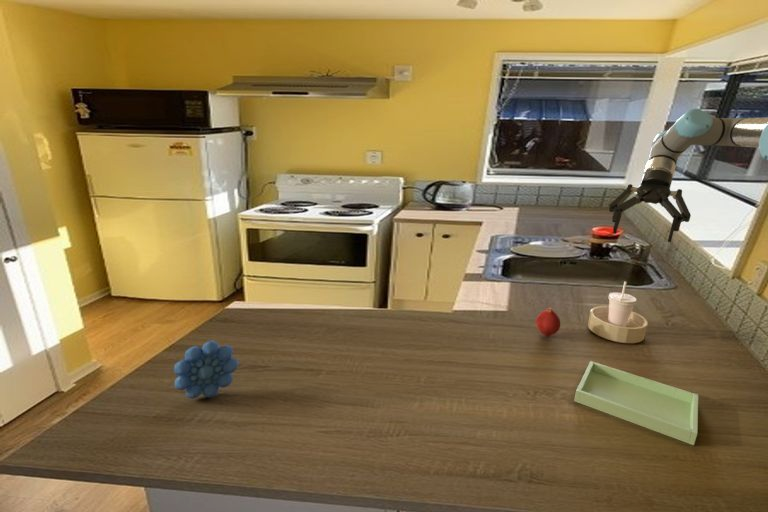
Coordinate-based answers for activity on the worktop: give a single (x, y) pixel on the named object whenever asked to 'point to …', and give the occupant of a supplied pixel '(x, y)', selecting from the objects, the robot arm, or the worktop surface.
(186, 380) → the blue flower
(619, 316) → the smoothie
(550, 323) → the onion
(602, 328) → the bowl
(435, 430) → the worktop surface
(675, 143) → the robot arm
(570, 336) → the worktop surface
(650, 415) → the tray
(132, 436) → the worktop surface
